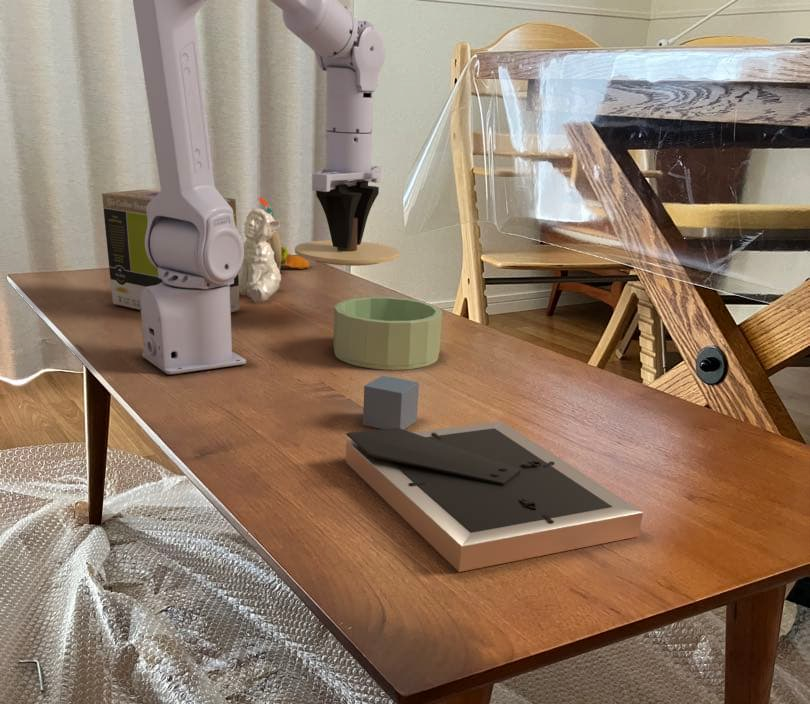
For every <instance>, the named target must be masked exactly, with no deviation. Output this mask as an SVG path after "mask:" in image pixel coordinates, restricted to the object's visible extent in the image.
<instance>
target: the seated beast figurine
mask: <svg viewBox="0 0 810 704" xmlns="http://www.w3.org/2000/svg"><path fill="white" fill-rule="evenodd" d="M273 217H274V216H273ZM273 217H272V215H271V214H269V213H267V212H265V209H262V208H257V207H254V208H251V211H249V213H248V214H247V216H246V220H245V222H243V225H244V231H243V234H244V236H245V238H246V239H245V241H244V242H243V246H244V258H243V263H242V266H241V269H240V271H239V273H238V276H239V296H246V297H248V298H251V300H253V302H254V303H262V302H265V301H266V302H267V301H268V299H269V298H271V297H272V296H273V295H274V294H276V292H277V291H279V289H280V287H281V286H280V283H281V281H282V274H281V272H280V271H281V270H280V271H279V269H278V268H277V263H276V262H275V260H274V251H273V250H272V248H271V246H270V244H269V243H267V242H266V241H267V240H268V239H270V238H271V236H273V233H274V232H276V230H277V231H278V230H279V229H280V227H281V220H280V219H277V220H276V219H275V218H274V219H275V220H274V219H273Z"/></svg>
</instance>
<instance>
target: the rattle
mask: <svg viewBox="0 0 810 704" xmlns="http://www.w3.org/2000/svg"><path fill="white" fill-rule="evenodd" d="M258 201H259V203H260V204H261V205H262V206H264V207H265V208H264V211H265V212H267V213H269V214H271V215H272V217H273V219H274V220H275V221H276V219H275V217H274V210H273V208H272V207H271V205H269V203H268V202H267V200H266V199H265V198H264V197H263V196H259V197H258ZM266 242H267V243H269V244H270V246H271V248H272V250H273V251H274V260H275V262H276V263H277V268H278V269H279V271H281V266H285V267H289V268H290V269H297V270H305V269H309V267H310V263H309V261H308V260H306V258H304V257H301V256H299V255H293V254H291V253H289V251H288V248H287V247H286V246H282V244H281V237H280V234H279V232H278V229H277V230H276V232H274V233H273V236H271V238H270V239H268V240H267V241H266Z"/></svg>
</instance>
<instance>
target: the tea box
mask: <svg viewBox="0 0 810 704" xmlns="http://www.w3.org/2000/svg"><path fill="white" fill-rule="evenodd" d="M160 191H161V188H147V189H135V190H123V191H112V192H103V193H102V194H101V197H102V198H101V199H102V207H103V219H104V228H105V238H106V239H105V241H106V248H107V259H108V268H109V270H108V271H109V277H110V290H111V299H112V304H113V305H117V306H120V307H124V308H125V307H126V308H128V309H129V308H130V309H134V310H139V311H141V309H140V299H141V292H142V290H143V289H144V288H145V287H148V286H154V285H157V284H160V283H161V282H163V281H162V279H159V278H158V269H157V268H156V267H154V266H153V264H152V263H151V262H150V260H149V259H148V256H147V254H146V250H145V235H146V230H147V223H148V219H147V211H146V206H147V205H148V204H149V202H150V201H151V200H152V199H153V198H154V197H155V196H156V195H157V194H158V193H159V192H160ZM222 197H223V196H222ZM223 198H224V199H225V200H226V202H227V203H228V204H229V205H230V207H231V208H232V209H233V215H234V222H235V226H236V228H237V229H238V227H237V226H238V224H237V205H236V204H237V201H236V198H231V197H223ZM238 274H239V273H238ZM238 274H237V276H236V277H235V278H234V284H230V311H231V313H234V312H237V311H239V309H240V295H239V276H238Z"/></svg>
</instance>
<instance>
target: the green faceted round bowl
mask: <svg viewBox="0 0 810 704" xmlns="http://www.w3.org/2000/svg"><path fill="white" fill-rule="evenodd" d="M442 323H443V311H442V309H440V308H439V306H437V305H434V304H431V303H429V302H426V301H424V300H423V301H422V300H419V299H413V298H405V297H395V296H363V297H354V298H353V297H352V298H349V299H345V300H342V301H339V302H338V303H336V304H335V305H334V307H333V350H334V351H333V352H334V355H335V357H336V358H337V359H339V360H340V361H342V362H344V363H347V364H349V365H353V366H356V367H361V368H366V369H373V370H383V371H385V370H386V371H404V370H405V371H406V370H414V369H419V368H425V367H428V366H430V365H433V364H435V363H436V362H437V361H438V360H439V356H440V355H439V354H440V352H441V351H440V349H441V336H442Z"/></svg>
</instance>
